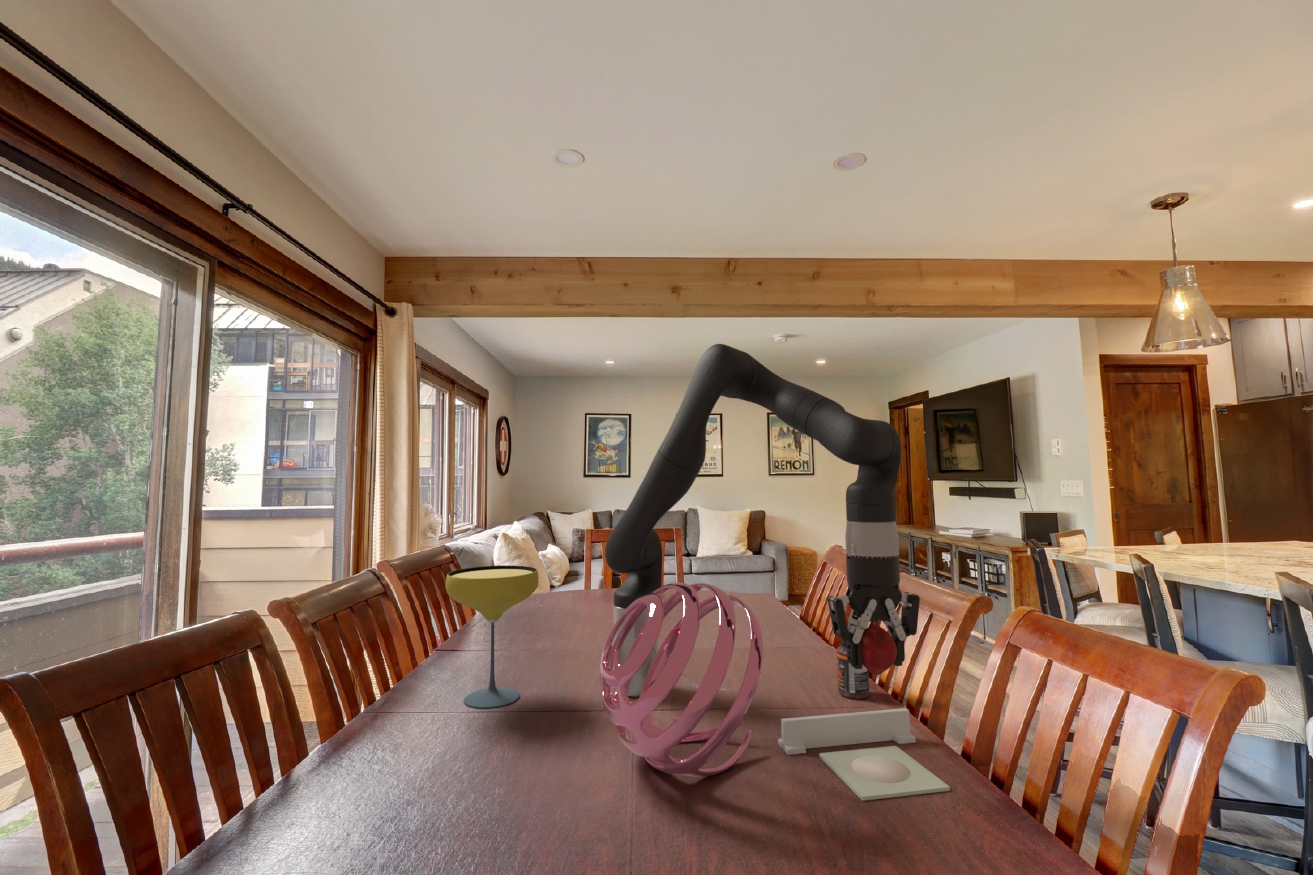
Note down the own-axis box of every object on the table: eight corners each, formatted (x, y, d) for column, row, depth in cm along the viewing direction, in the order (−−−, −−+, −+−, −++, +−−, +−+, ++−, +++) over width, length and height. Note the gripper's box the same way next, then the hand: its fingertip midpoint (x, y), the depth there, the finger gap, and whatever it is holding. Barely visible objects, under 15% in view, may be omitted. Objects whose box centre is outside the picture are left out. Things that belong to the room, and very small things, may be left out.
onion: (901, 682, 84) (899, 625, 85) (859, 680, 86) (857, 623, 86) (893, 670, 90) (891, 616, 91) (853, 668, 91) (852, 615, 92)
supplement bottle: (833, 690, 121) (831, 633, 122) (861, 688, 121) (859, 632, 122) (845, 700, 115) (843, 641, 116) (874, 699, 116) (872, 640, 116)
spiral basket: (771, 605, 110) (657, 528, 103) (850, 694, 83) (703, 597, 76) (681, 726, 110) (560, 657, 103) (730, 853, 83) (572, 772, 76)
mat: (862, 800, 79) (862, 796, 79) (819, 756, 92) (819, 752, 92) (949, 790, 81) (949, 786, 82) (895, 748, 94) (895, 745, 94)
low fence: (787, 754, 93) (787, 725, 93) (778, 743, 97) (777, 715, 97) (915, 742, 96) (914, 713, 97) (901, 732, 100) (900, 704, 101)
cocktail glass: (544, 707, 113) (545, 575, 115) (444, 722, 107) (446, 581, 109) (531, 678, 130) (531, 563, 132) (443, 689, 124) (445, 568, 126)
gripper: (901, 547, 94) (905, 655, 93) (816, 550, 92) (819, 661, 90) (930, 552, 87) (936, 670, 86) (839, 556, 84) (843, 677, 83)
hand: (876, 665), depth 88 cm, fingers closed on onion, 5 cm apart
